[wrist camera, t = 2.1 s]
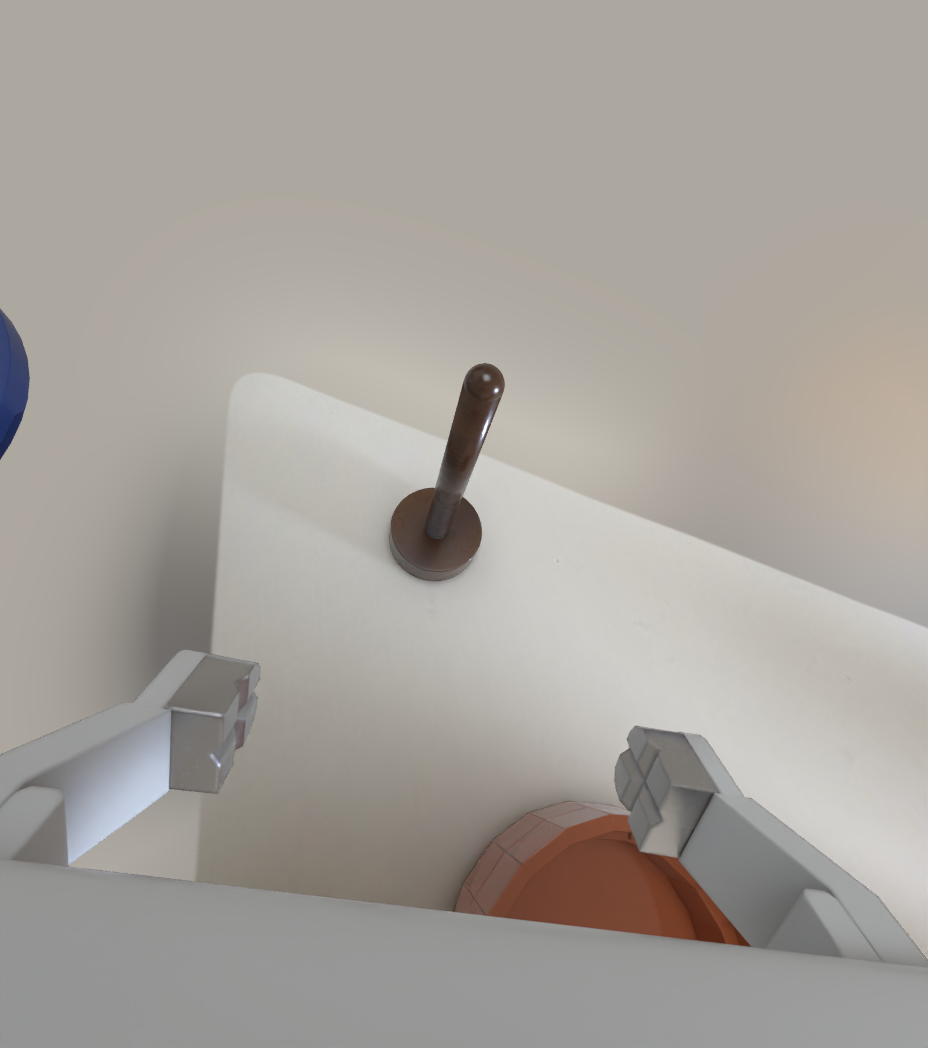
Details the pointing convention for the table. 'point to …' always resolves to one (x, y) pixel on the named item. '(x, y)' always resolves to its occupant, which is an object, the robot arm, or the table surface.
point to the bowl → (590, 878)
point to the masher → (449, 490)
